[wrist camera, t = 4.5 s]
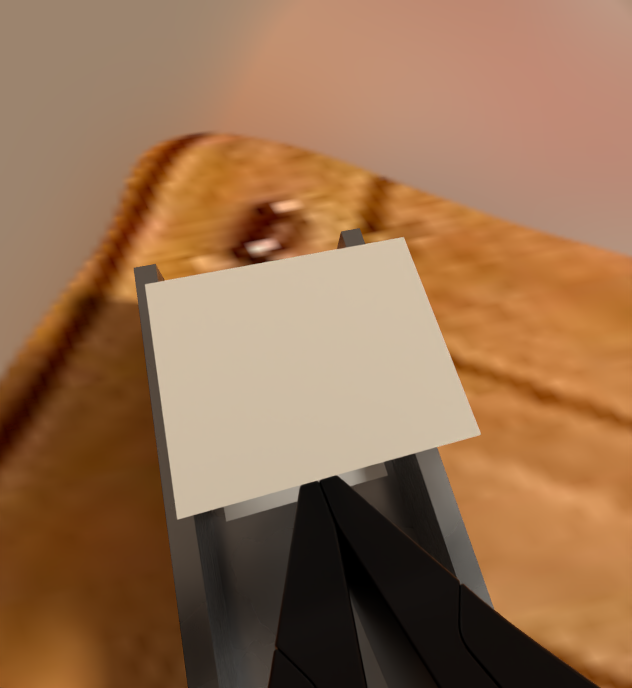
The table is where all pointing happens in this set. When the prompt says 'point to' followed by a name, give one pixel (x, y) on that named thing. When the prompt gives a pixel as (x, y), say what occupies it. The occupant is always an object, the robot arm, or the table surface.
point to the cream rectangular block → (299, 376)
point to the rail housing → (282, 550)
